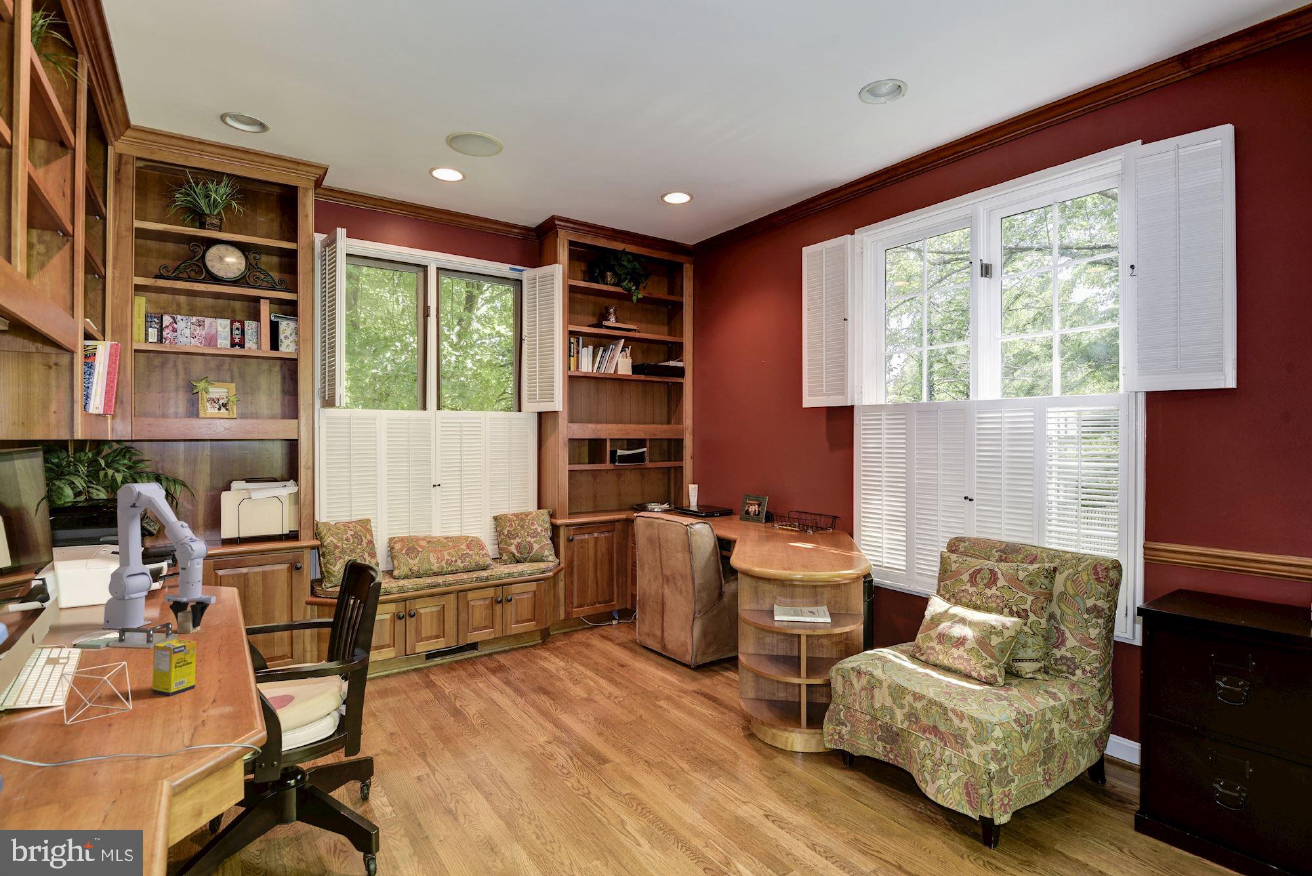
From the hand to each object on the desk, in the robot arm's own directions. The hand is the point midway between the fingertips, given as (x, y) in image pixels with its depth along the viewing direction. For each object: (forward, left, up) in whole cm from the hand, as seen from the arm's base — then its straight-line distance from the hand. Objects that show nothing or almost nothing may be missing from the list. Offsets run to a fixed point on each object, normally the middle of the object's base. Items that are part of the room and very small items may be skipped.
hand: (188, 626), depth 202 cm
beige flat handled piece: (-4, -11, -1) cm, 12 cm away
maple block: (0, 0, -1) cm, 1 cm away
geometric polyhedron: (+25, -60, -2) cm, 65 cm away
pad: (-14, -12, -1) cm, 18 cm away
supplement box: (+31, -46, -2) cm, 55 cm away
